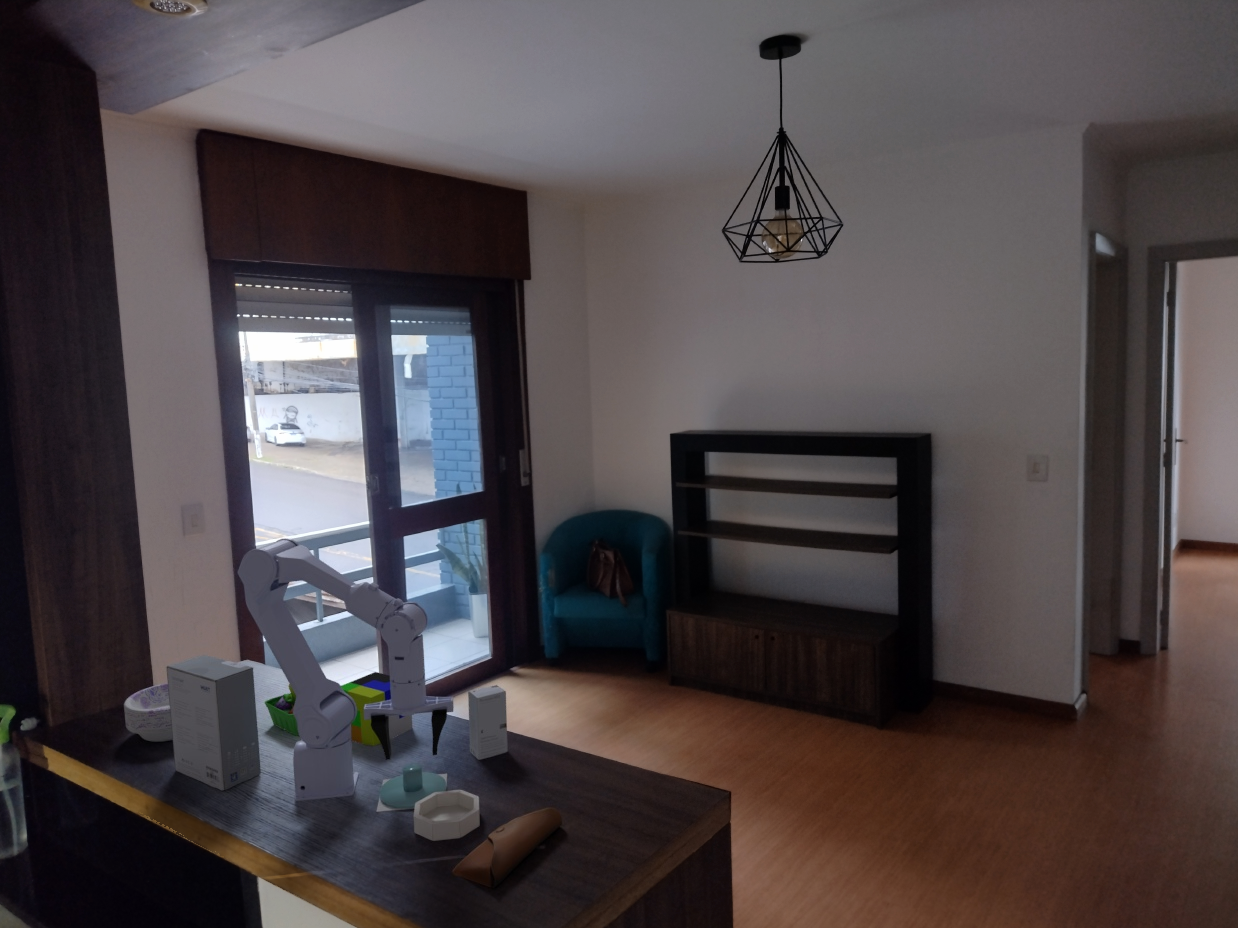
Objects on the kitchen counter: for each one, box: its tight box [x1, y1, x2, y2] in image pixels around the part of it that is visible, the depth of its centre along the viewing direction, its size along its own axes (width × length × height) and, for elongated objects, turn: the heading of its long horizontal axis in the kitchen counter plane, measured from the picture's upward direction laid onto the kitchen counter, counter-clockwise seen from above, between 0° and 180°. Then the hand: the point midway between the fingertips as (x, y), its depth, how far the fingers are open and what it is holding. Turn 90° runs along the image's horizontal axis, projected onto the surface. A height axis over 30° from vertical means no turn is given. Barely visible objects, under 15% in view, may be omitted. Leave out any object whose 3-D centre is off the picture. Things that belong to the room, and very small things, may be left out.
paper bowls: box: [123, 682, 173, 743], centre depth 173 cm, size 15×15×8 cm
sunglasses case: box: [451, 806, 563, 890], centre depth 129 cm, size 18×7×7 cm
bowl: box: [413, 789, 481, 842], centre depth 136 cm, size 10×10×3 cm
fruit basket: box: [264, 683, 321, 736], centre depth 175 cm, size 11×9×11 cm
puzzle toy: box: [340, 671, 413, 747], centre depth 171 cm, size 10×10×10 cm
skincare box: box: [467, 684, 508, 761], centre depth 160 cm, size 6×4×12 cm
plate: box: [376, 773, 448, 813], centre depth 146 cm, size 11×11×1 cm
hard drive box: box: [165, 654, 262, 792], centre depth 154 cm, size 16×8×20 cm, turn 57°
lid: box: [379, 763, 447, 810], centre depth 146 cm, size 11×11×4 cm
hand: (411, 754), depth 145 cm, fingers open, 7 cm apart
